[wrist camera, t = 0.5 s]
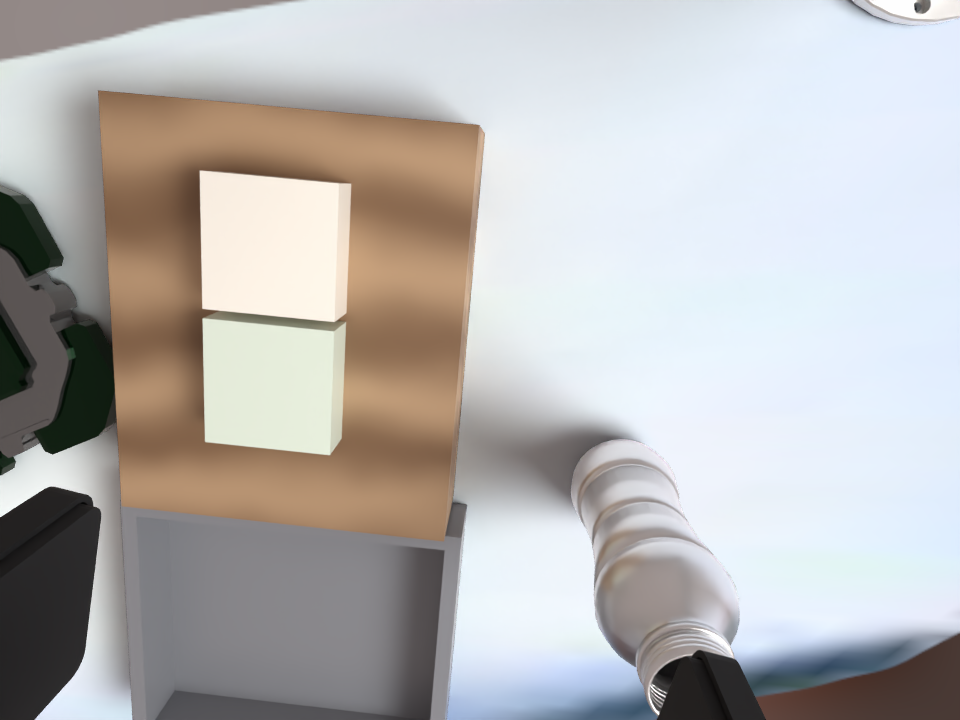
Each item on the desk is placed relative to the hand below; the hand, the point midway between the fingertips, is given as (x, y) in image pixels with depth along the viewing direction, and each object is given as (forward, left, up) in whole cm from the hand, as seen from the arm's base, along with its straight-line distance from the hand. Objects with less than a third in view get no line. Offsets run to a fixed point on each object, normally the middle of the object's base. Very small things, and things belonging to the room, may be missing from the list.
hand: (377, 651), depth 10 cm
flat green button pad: (+6, -34, -34) cm, 48 cm away
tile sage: (+5, -11, -27) cm, 30 cm away
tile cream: (-3, -11, -27) cm, 29 cm away
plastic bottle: (+11, +10, -33) cm, 37 cm away
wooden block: (+2, -11, -33) cm, 35 cm away
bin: (+24, -11, -33) cm, 42 cm away
